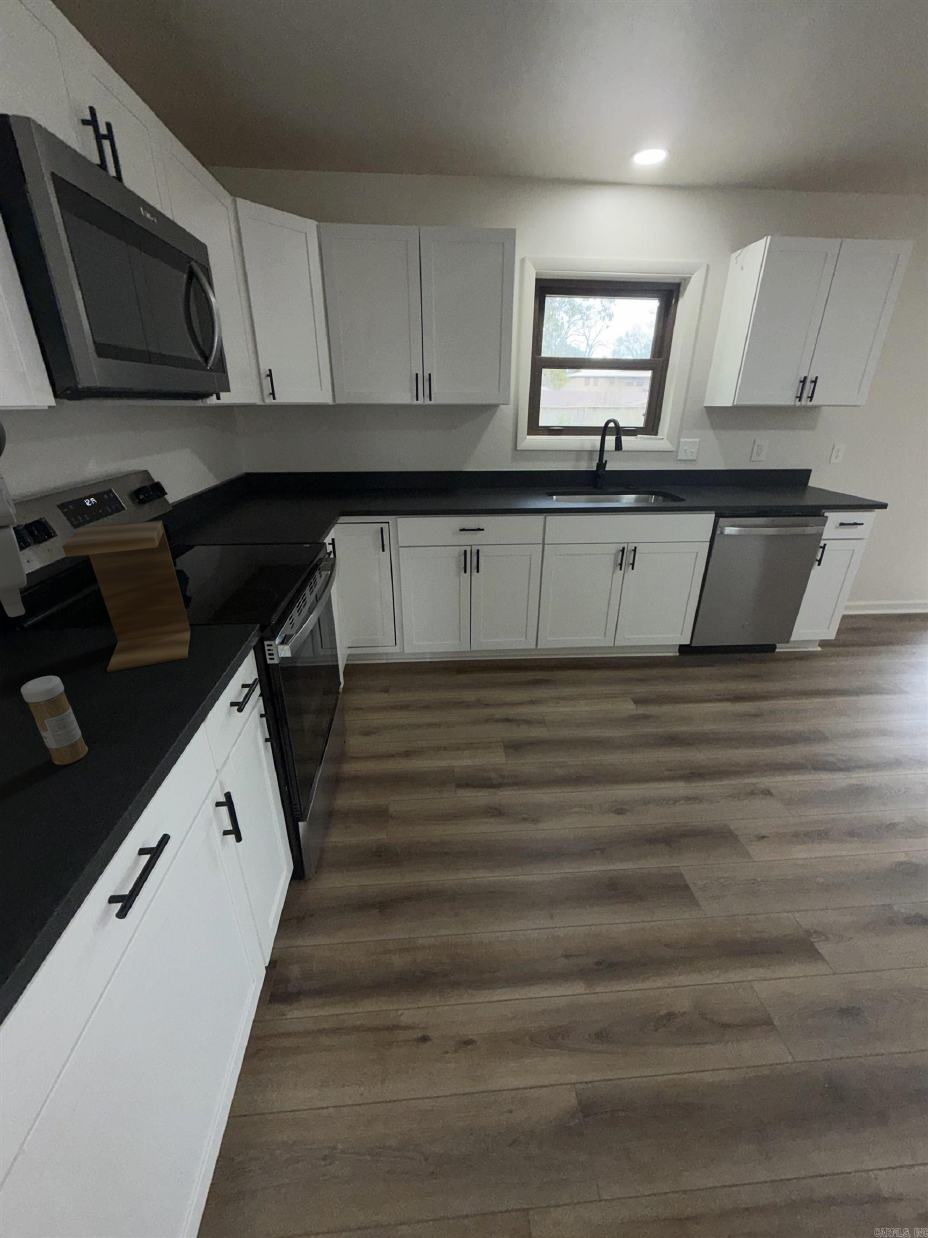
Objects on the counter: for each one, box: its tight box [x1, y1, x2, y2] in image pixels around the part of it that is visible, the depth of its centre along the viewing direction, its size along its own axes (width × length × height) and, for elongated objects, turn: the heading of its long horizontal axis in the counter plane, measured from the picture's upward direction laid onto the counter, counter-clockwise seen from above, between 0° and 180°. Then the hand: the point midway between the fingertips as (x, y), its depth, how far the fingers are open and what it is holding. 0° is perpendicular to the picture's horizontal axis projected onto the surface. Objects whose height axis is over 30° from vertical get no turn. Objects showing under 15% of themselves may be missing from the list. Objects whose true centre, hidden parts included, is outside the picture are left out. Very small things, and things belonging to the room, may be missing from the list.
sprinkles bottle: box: [20, 675, 89, 766], centre depth 74 cm, size 5×5×13 cm
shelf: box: [62, 519, 192, 673], centre depth 100 cm, size 14×14×27 cm
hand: (9, 605), depth 68 cm, fingers open, 8 cm apart
